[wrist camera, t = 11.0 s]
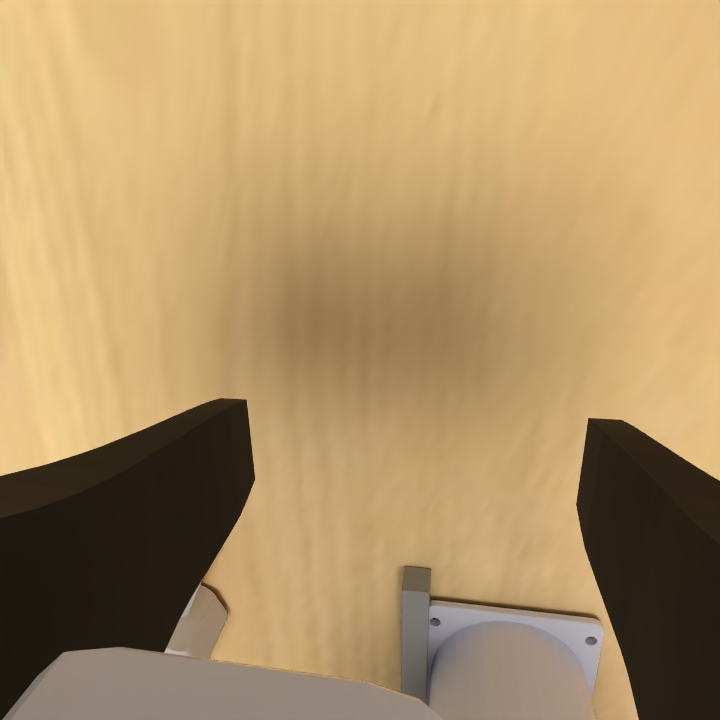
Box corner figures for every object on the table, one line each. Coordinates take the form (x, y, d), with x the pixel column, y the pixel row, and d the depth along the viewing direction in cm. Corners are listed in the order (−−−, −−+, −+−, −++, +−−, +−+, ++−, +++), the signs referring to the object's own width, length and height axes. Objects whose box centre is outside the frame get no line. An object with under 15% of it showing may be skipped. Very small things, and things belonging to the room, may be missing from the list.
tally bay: (424, 758, 30) (422, 787, 29) (6, 690, 35) (-13, 713, 33) (430, 568, 26) (429, 593, 24) (-56, 518, 30) (-80, 536, 29)
